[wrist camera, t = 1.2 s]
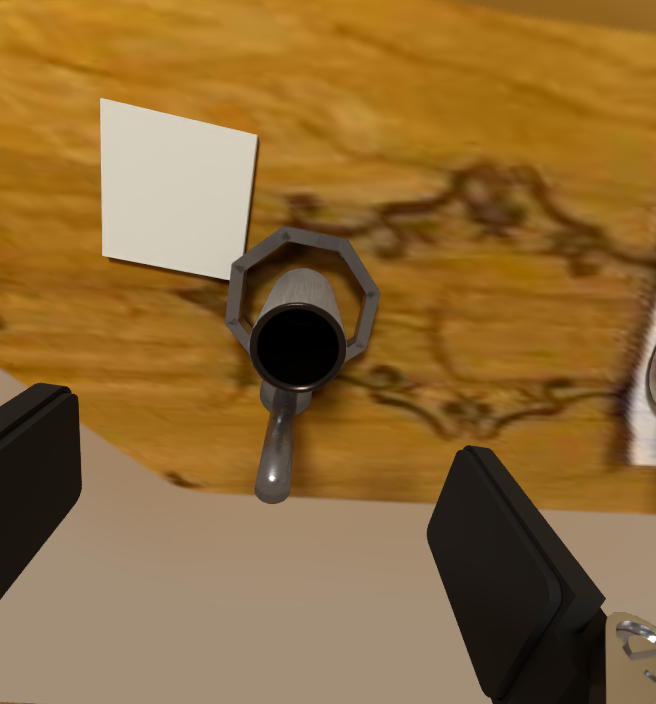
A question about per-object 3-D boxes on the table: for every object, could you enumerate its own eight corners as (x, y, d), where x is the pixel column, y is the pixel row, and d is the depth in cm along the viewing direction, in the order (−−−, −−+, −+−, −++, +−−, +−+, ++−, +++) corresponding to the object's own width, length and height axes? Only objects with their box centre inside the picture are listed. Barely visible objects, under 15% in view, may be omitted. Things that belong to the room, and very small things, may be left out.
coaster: (258, 137, 23) (257, 135, 22) (241, 280, 26) (239, 282, 25) (105, 100, 22) (100, 97, 21) (107, 254, 25) (102, 255, 24)
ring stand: (384, 245, 25) (433, 269, 15) (340, 421, 30) (354, 530, 20) (244, 215, 24) (194, 219, 14) (222, 403, 29) (173, 508, 19)
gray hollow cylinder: (295, 340, 28) (286, 410, 18) (258, 290, 26) (227, 338, 16) (346, 307, 27) (365, 362, 17) (311, 254, 25) (310, 281, 16)
